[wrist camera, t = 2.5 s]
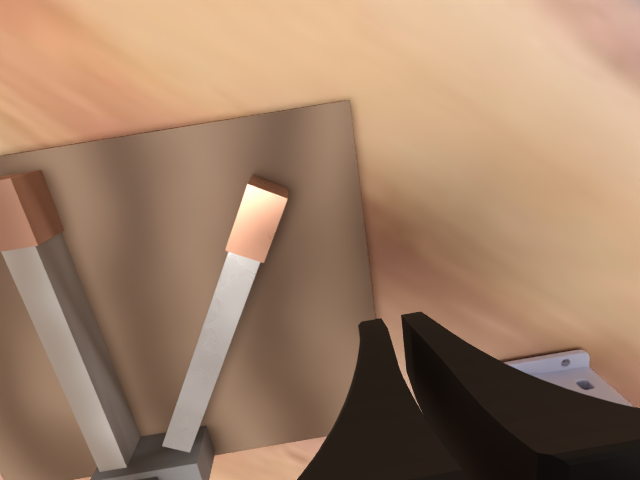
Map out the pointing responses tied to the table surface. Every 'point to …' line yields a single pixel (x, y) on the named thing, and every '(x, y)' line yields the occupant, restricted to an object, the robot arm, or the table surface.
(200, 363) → the tong arm
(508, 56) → the table surface
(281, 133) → the tongs board
